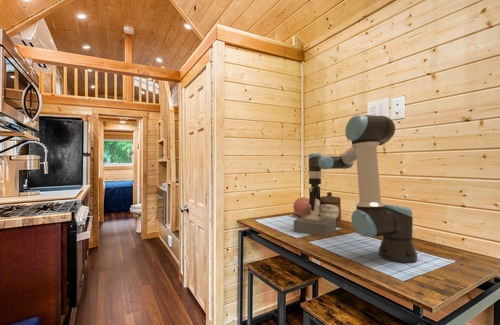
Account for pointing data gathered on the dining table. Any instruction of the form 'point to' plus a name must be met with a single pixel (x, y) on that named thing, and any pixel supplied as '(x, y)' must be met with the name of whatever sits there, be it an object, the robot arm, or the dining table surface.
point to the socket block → (315, 226)
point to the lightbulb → (316, 205)
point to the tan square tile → (315, 218)
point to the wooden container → (330, 207)
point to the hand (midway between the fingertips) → (315, 214)
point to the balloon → (302, 207)
